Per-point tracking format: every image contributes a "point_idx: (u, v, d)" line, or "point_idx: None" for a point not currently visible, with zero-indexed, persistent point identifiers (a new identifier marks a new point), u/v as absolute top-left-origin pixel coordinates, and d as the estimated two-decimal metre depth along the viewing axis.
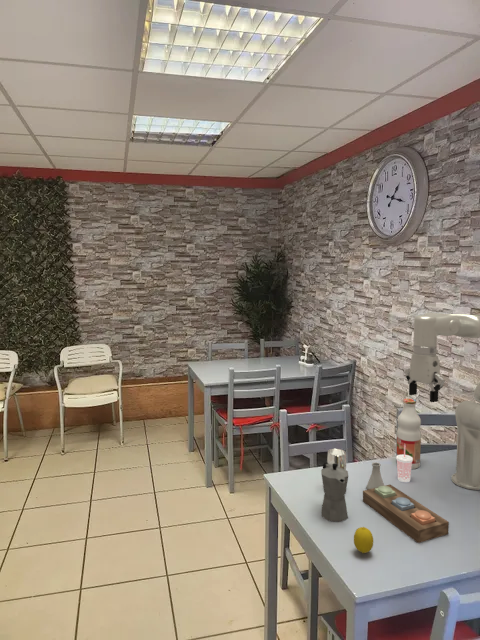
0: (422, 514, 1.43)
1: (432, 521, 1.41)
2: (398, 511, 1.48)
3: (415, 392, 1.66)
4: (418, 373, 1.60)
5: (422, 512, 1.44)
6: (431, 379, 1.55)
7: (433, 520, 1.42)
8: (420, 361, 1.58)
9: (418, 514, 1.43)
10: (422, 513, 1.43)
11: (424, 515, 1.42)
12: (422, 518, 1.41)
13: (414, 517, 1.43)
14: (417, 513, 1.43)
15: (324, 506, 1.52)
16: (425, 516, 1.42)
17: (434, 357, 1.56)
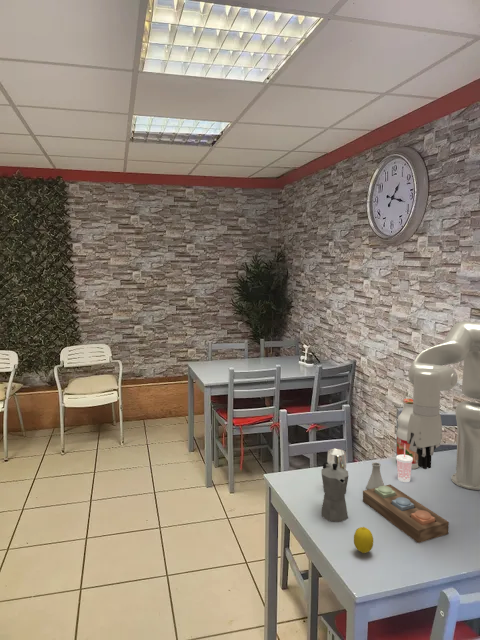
0: (422, 514, 1.43)
1: (432, 521, 1.41)
2: (398, 511, 1.48)
3: None
4: (430, 437, 1.38)
5: (422, 512, 1.44)
6: None
7: (433, 520, 1.42)
8: (434, 423, 1.38)
9: (418, 514, 1.43)
10: (422, 513, 1.43)
11: (424, 515, 1.42)
12: (422, 518, 1.41)
13: (414, 517, 1.43)
14: (417, 513, 1.43)
15: (324, 506, 1.52)
16: (425, 516, 1.42)
17: None
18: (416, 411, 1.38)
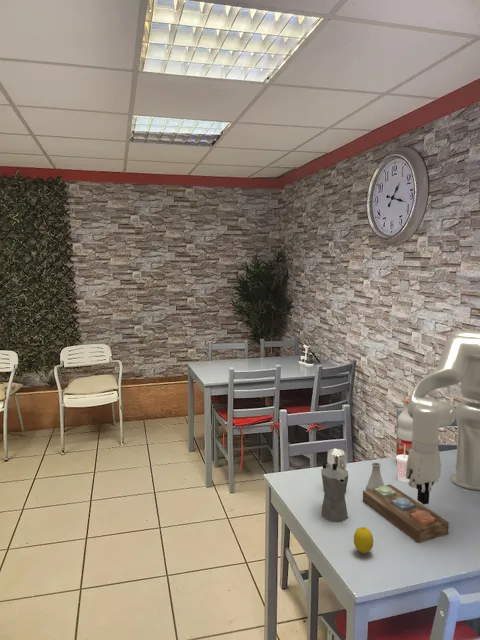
0: (422, 514, 1.43)
1: (432, 521, 1.41)
2: (398, 511, 1.48)
3: None
4: (429, 473, 1.39)
5: (422, 512, 1.44)
6: None
7: (433, 520, 1.42)
8: (433, 459, 1.39)
9: (418, 514, 1.43)
10: (422, 513, 1.43)
11: (424, 515, 1.42)
12: (422, 518, 1.41)
13: (414, 517, 1.43)
14: (417, 513, 1.43)
15: (324, 506, 1.52)
16: (425, 516, 1.42)
17: None
18: (415, 447, 1.39)
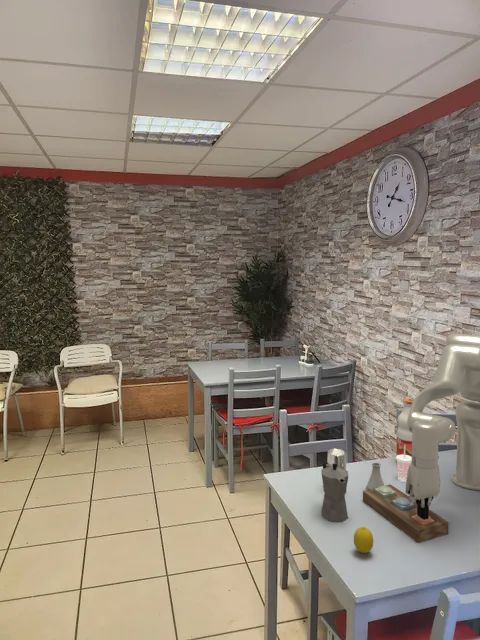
0: None
1: None
2: (398, 511, 1.48)
3: None
4: (429, 488, 1.40)
5: None
6: None
7: None
8: (432, 474, 1.39)
9: (418, 517, 1.43)
10: None
11: None
12: (422, 521, 1.41)
13: None
14: (417, 516, 1.44)
15: (324, 506, 1.52)
16: (425, 519, 1.42)
17: None
18: (415, 463, 1.40)
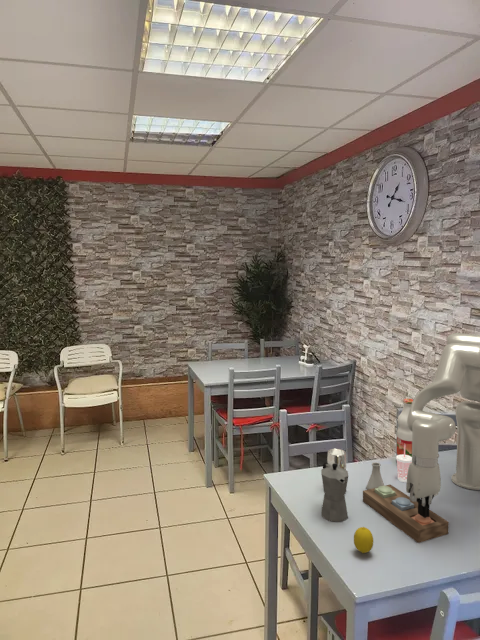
0: (422, 518, 1.43)
1: None
2: (398, 511, 1.48)
3: None
4: (429, 487, 1.40)
5: None
6: None
7: None
8: (432, 473, 1.40)
9: (418, 518, 1.43)
10: (422, 517, 1.44)
11: (424, 519, 1.42)
12: (422, 522, 1.41)
13: None
14: (417, 517, 1.44)
15: (324, 506, 1.52)
16: (425, 520, 1.42)
17: None
18: (415, 462, 1.40)
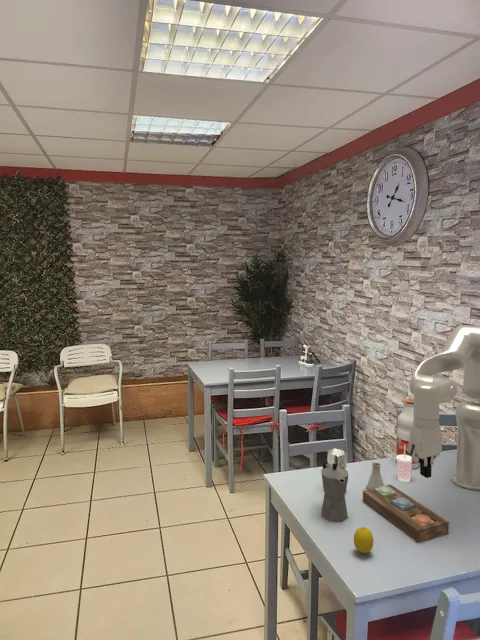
0: (422, 518, 1.43)
1: None
2: (398, 511, 1.48)
3: None
4: (431, 448, 1.43)
5: (422, 516, 1.44)
6: None
7: None
8: (434, 434, 1.42)
9: (418, 518, 1.43)
10: (422, 517, 1.44)
11: (424, 519, 1.42)
12: (422, 522, 1.41)
13: None
14: (417, 517, 1.44)
15: (324, 506, 1.52)
16: (425, 520, 1.42)
17: None
18: (417, 423, 1.43)
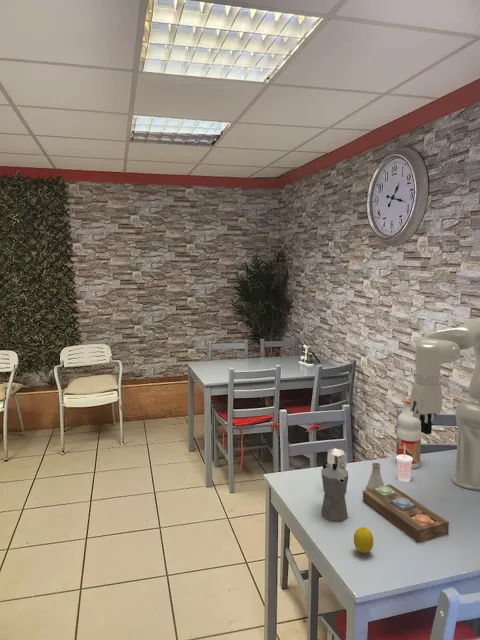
0: (422, 518, 1.43)
1: None
2: (398, 511, 1.48)
3: None
4: (431, 405, 1.50)
5: (422, 516, 1.44)
6: None
7: None
8: (435, 391, 1.50)
9: (418, 518, 1.43)
10: (422, 517, 1.44)
11: (424, 519, 1.42)
12: (422, 522, 1.41)
13: None
14: (417, 517, 1.44)
15: (324, 506, 1.52)
16: (425, 520, 1.42)
17: None
18: (418, 381, 1.50)
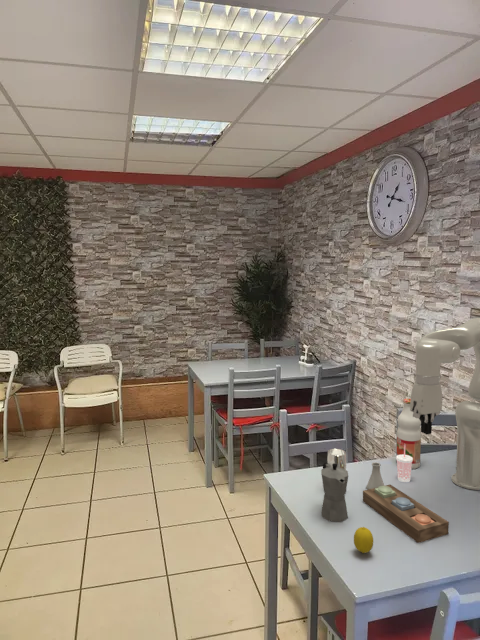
0: (422, 518, 1.43)
1: None
2: (398, 511, 1.48)
3: None
4: (431, 405, 1.50)
5: (422, 516, 1.44)
6: None
7: None
8: (435, 391, 1.50)
9: (418, 518, 1.43)
10: (422, 517, 1.44)
11: (424, 519, 1.42)
12: (422, 522, 1.41)
13: None
14: (417, 517, 1.44)
15: (324, 506, 1.52)
16: (425, 520, 1.42)
17: None
18: (418, 381, 1.50)
